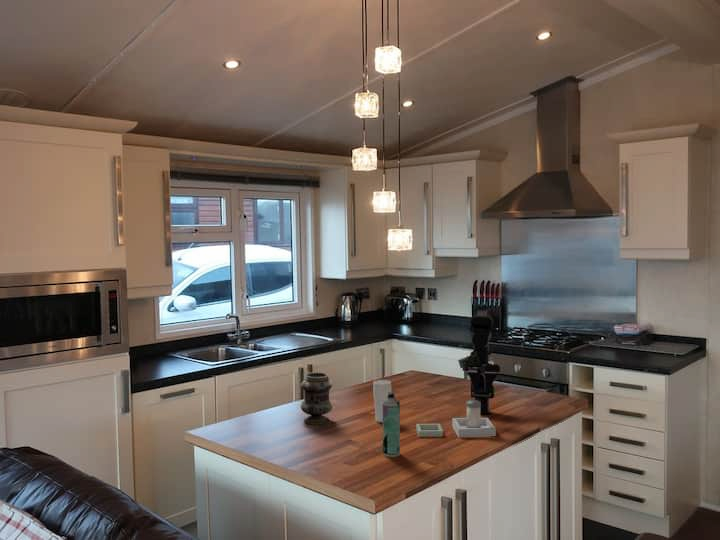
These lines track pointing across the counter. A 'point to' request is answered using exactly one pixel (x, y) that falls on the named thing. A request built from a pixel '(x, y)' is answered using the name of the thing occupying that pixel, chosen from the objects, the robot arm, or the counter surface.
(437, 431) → the holder ring
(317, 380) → the apothecary jar
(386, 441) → the spray can
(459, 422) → the parts tray
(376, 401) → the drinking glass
